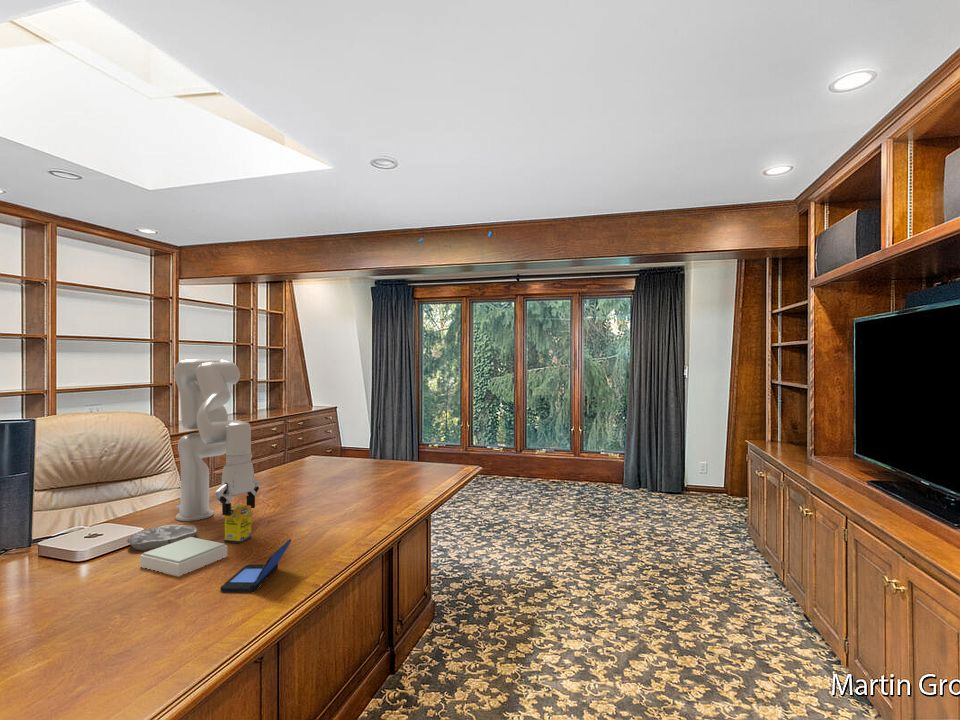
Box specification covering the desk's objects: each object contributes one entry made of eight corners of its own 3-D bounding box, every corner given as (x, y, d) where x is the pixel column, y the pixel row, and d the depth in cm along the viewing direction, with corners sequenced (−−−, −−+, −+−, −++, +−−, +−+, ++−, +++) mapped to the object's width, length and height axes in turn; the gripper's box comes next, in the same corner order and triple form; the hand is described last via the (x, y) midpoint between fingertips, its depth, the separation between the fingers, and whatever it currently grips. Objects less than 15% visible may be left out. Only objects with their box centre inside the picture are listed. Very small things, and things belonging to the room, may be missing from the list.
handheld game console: (246, 569, 149) (246, 536, 149) (292, 569, 149) (292, 537, 149) (218, 593, 133) (218, 557, 133) (269, 594, 133) (269, 558, 133)
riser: (140, 567, 149) (140, 553, 149) (190, 548, 164) (190, 536, 164) (178, 576, 143) (178, 562, 143) (227, 556, 157) (227, 543, 157)
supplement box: (240, 543, 169) (240, 510, 169) (224, 542, 170) (224, 509, 170) (251, 537, 174) (251, 505, 174) (236, 536, 176) (236, 504, 176)
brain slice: (187, 529, 184) (187, 520, 184) (202, 541, 171) (202, 532, 171) (120, 542, 170) (120, 533, 170) (132, 556, 158) (132, 547, 158)
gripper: (251, 455, 181) (251, 504, 181) (207, 463, 165) (208, 517, 165) (267, 456, 178) (267, 505, 178) (224, 464, 163) (225, 519, 162)
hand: (239, 511), depth 172 cm, fingers open, 9 cm apart
